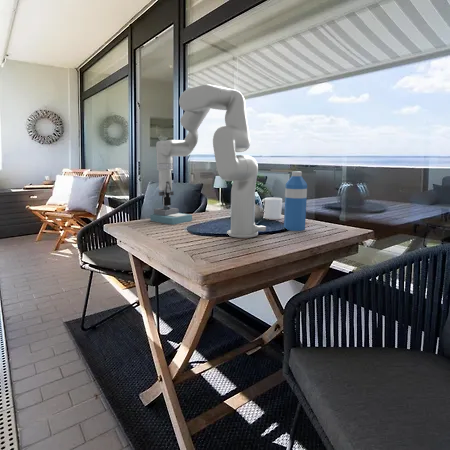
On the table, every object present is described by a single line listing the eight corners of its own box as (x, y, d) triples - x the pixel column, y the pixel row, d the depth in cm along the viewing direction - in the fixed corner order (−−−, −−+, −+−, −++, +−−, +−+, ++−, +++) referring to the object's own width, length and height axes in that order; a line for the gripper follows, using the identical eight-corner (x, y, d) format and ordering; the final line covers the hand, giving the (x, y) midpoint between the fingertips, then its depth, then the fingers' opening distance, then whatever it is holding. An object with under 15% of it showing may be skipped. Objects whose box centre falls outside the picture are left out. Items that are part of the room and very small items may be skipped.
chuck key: (173, 208, 171) (172, 191, 169) (174, 209, 168) (173, 191, 166) (159, 209, 169) (158, 191, 167) (160, 210, 166) (159, 192, 164)
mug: (284, 218, 176) (285, 198, 173) (277, 220, 168) (278, 200, 166) (265, 216, 181) (265, 196, 179) (257, 218, 174) (257, 198, 172)
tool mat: (187, 215, 165) (187, 214, 165) (176, 217, 160) (176, 216, 160) (178, 214, 169) (178, 213, 169) (167, 215, 163) (167, 215, 163)
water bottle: (281, 229, 147) (283, 171, 142) (286, 225, 156) (288, 170, 151) (303, 231, 144) (306, 172, 139) (306, 227, 152) (309, 171, 147)
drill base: (192, 220, 168) (192, 209, 166) (172, 224, 158) (172, 213, 157) (168, 216, 179) (167, 206, 177) (148, 220, 169) (147, 209, 168)
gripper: (154, 167, 171) (156, 203, 174) (160, 167, 156) (162, 207, 159) (169, 166, 173) (170, 202, 177) (176, 167, 158) (177, 206, 162)
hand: (166, 204), depth 168 cm, fingers closed on chuck key, 3 cm apart
